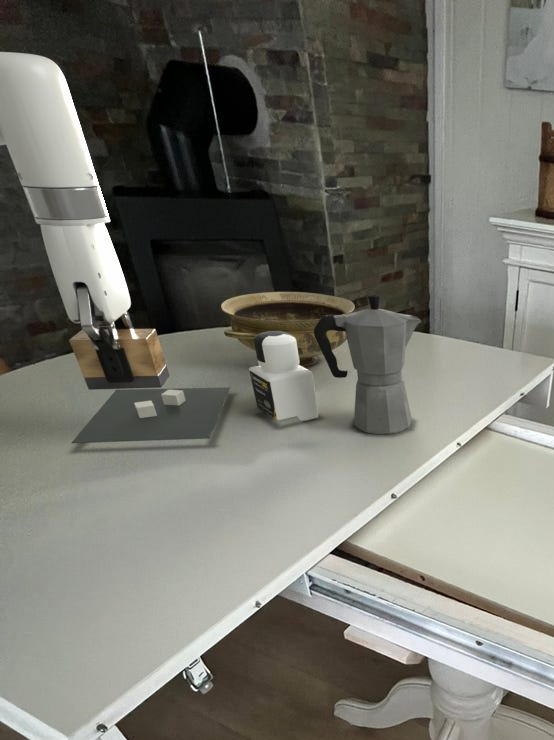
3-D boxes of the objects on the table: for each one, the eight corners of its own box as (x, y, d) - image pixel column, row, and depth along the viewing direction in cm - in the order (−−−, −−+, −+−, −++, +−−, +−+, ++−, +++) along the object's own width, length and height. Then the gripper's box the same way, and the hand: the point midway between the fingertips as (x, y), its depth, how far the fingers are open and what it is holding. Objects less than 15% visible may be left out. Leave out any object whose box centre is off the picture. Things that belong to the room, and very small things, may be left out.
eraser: (88, 389, 77) (68, 339, 73) (100, 377, 80) (81, 329, 76) (161, 387, 78) (146, 338, 74) (169, 376, 82) (155, 328, 78)
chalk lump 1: (139, 418, 88) (136, 407, 87) (137, 413, 89) (133, 402, 88) (157, 416, 89) (153, 405, 88) (154, 410, 90) (151, 400, 89)
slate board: (74, 451, 81) (71, 442, 80) (118, 397, 97) (116, 389, 97) (211, 446, 84) (209, 438, 83) (232, 394, 100) (230, 387, 99)
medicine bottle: (257, 414, 94) (240, 331, 86) (298, 405, 98) (285, 325, 90) (277, 428, 90) (261, 343, 82) (319, 418, 94) (307, 336, 86)
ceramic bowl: (281, 393, 101) (269, 330, 95) (193, 366, 111) (178, 306, 104) (393, 356, 121) (390, 301, 114) (311, 335, 130) (304, 283, 124)
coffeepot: (415, 409, 98) (411, 285, 86) (431, 430, 91) (429, 299, 80) (322, 418, 94) (304, 289, 82) (332, 441, 87) (314, 304, 75)
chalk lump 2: (164, 404, 92) (160, 394, 91) (171, 399, 94) (168, 389, 93) (178, 405, 92) (175, 395, 91) (185, 400, 94) (183, 390, 93)
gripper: (59, 199, 72) (115, 357, 84) (0, 214, 60) (75, 397, 72) (124, 200, 73) (170, 355, 85) (80, 215, 61) (141, 395, 73)
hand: (126, 373), depth 78 cm, fingers closed on eraser, 5 cm apart
